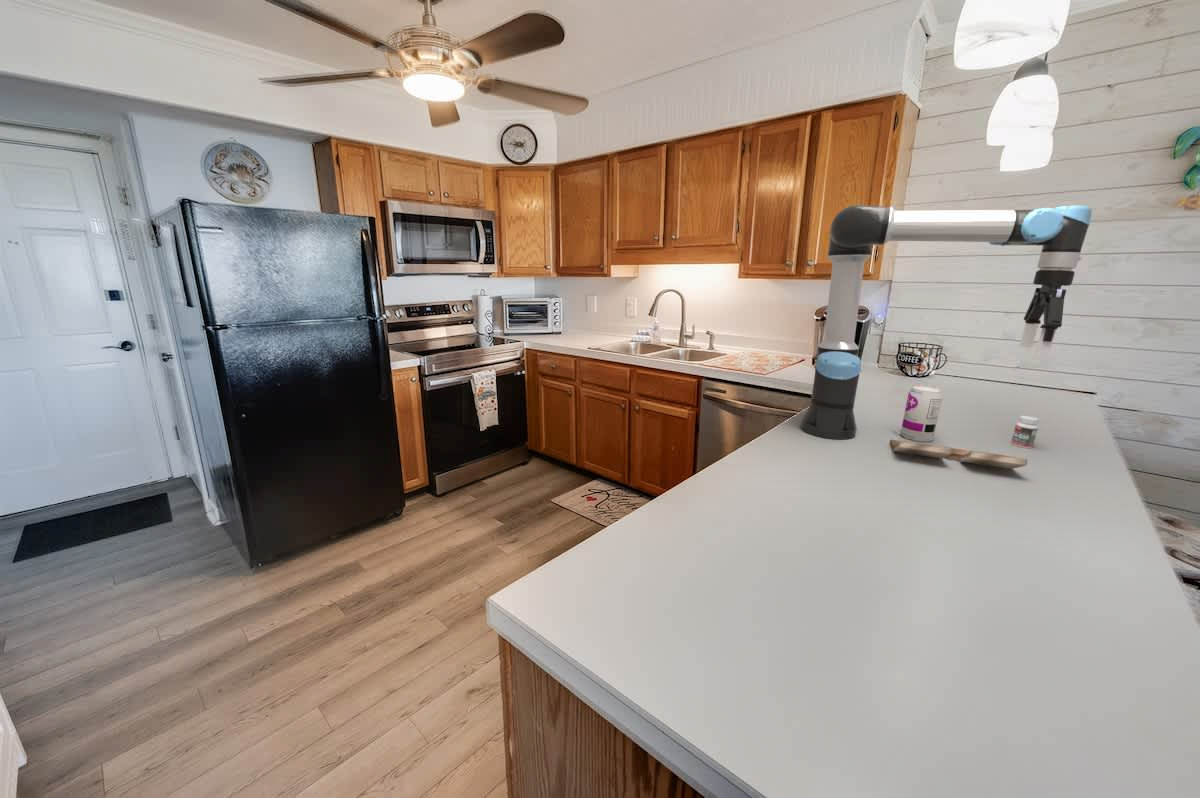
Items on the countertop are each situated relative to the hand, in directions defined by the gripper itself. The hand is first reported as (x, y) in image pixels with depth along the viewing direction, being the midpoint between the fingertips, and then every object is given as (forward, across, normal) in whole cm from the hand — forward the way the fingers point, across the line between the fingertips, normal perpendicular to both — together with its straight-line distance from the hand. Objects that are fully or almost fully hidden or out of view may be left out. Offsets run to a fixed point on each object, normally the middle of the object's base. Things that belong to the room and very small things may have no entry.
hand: (1033, 350), depth 131 cm
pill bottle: (+28, +1, -3) cm, 28 cm away
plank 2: (+25, -27, +9) cm, 38 cm away
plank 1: (+25, -28, +24) cm, 45 cm away
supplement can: (+28, -8, +23) cm, 37 cm away
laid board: (+28, -20, +17) cm, 38 cm away
